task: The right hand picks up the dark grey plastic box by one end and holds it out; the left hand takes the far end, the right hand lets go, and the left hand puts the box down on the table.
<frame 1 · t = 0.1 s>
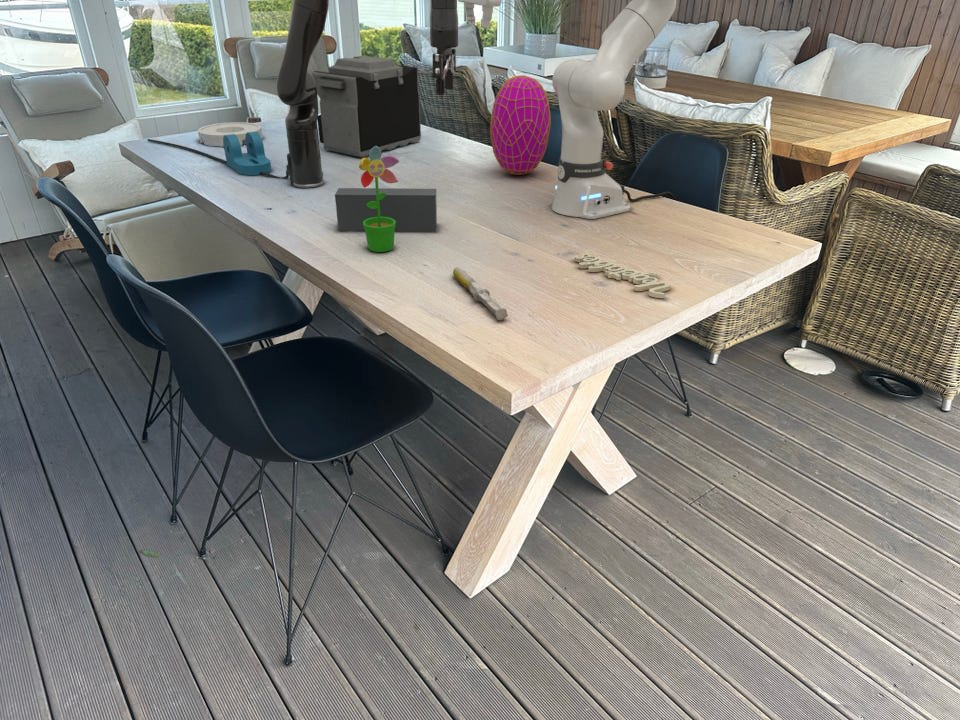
left hand: (444, 91, 191), 30 cm above the table, tool pointing down, fingers open, 8 cm apart
right hand: (477, 26, 162), 48 cm above the table, tool pointing down, fingers open, 8 cm apart
box: (388, 228, 181), on the table
camera mount: (251, 168, 229), on the table
decorative egg: (518, 174, 227), on the table
potted flower: (382, 248, 169), on the table
syringe: (478, 297, 145), on the table
cooler: (371, 146, 258), on the table
decorative sign: (623, 275, 156), on the table
ashtray: (231, 139, 265), on the table
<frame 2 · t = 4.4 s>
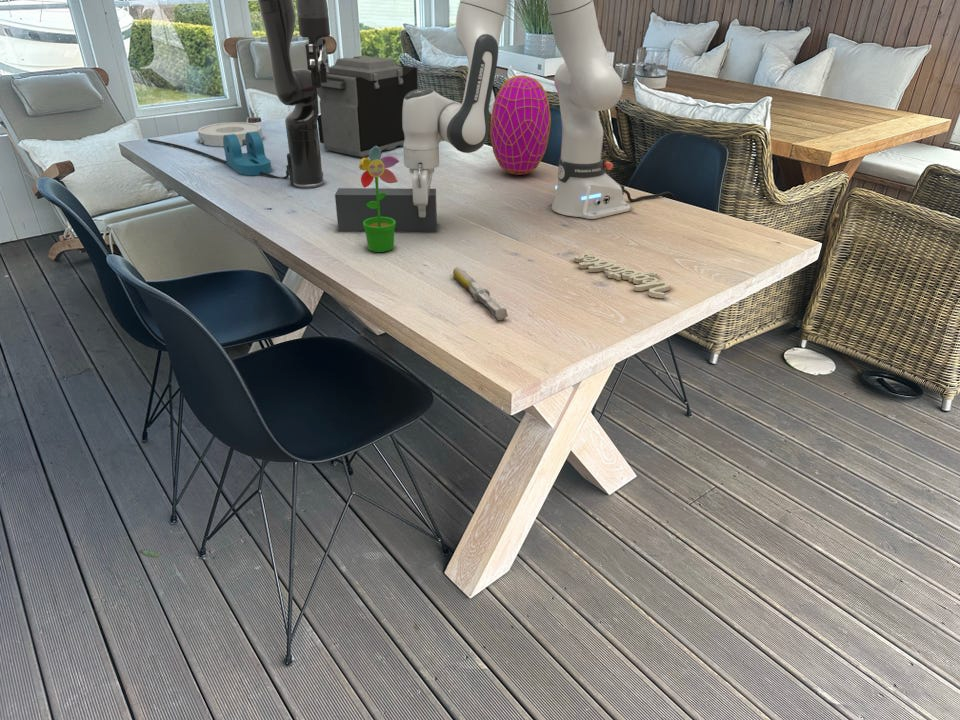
left hand: (320, 85, 178), 33 cm above the table, tool pointing down, fingers open, 8 cm apart
right hand: (423, 211, 179), 4 cm above the table, tool pointing down, fingers closed on box, 6 cm apart
box: (388, 228, 181), on the table, touching right hand
everything else where it was.
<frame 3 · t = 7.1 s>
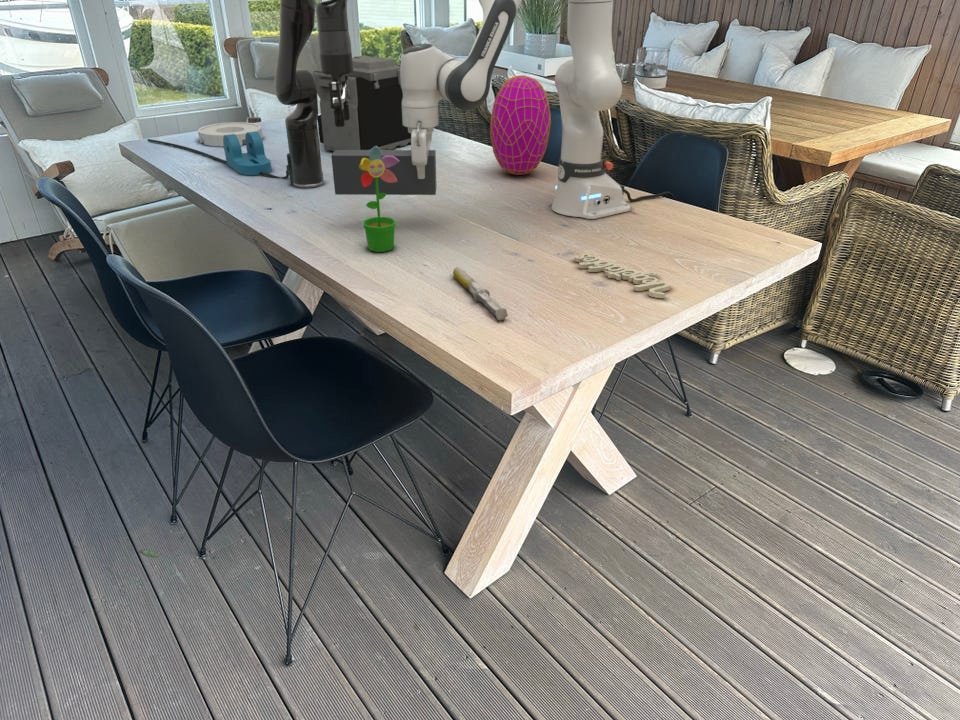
left hand: (342, 123, 170), 26 cm above the table, tool pointing down, fingers open, 8 cm apart
right hand: (422, 174, 174), 14 cm above the table, tool pointing down, fingers closed on box, 6 cm apart
box: (386, 191, 176), point 10 cm above the table, touching right hand
everything else where it was.
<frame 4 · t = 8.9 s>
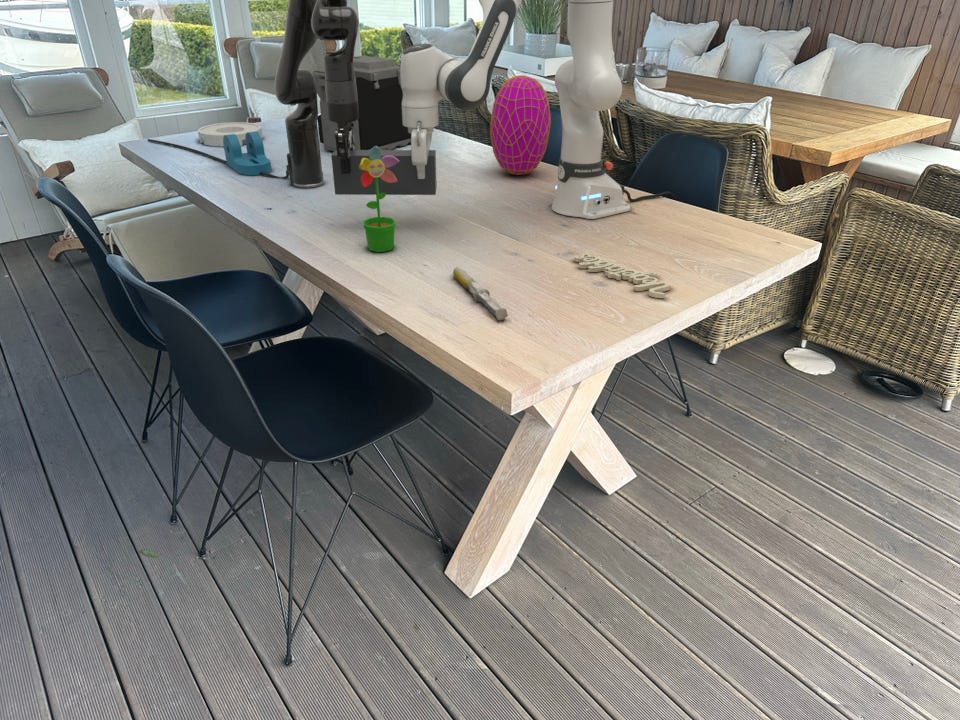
left hand: (348, 169, 173), 15 cm above the table, tool pointing down, fingers closed on box, 5 cm apart
right hand: (422, 174, 174), 14 cm above the table, tool pointing down, fingers closed on box, 6 cm apart
box: (386, 191, 176), point 10 cm above the table, touching left hand, right hand
everything else where it was.
when the right hand's fingers open (14 cm above the table, at t = 10.2 s): box stays where it is, held by the left hand.
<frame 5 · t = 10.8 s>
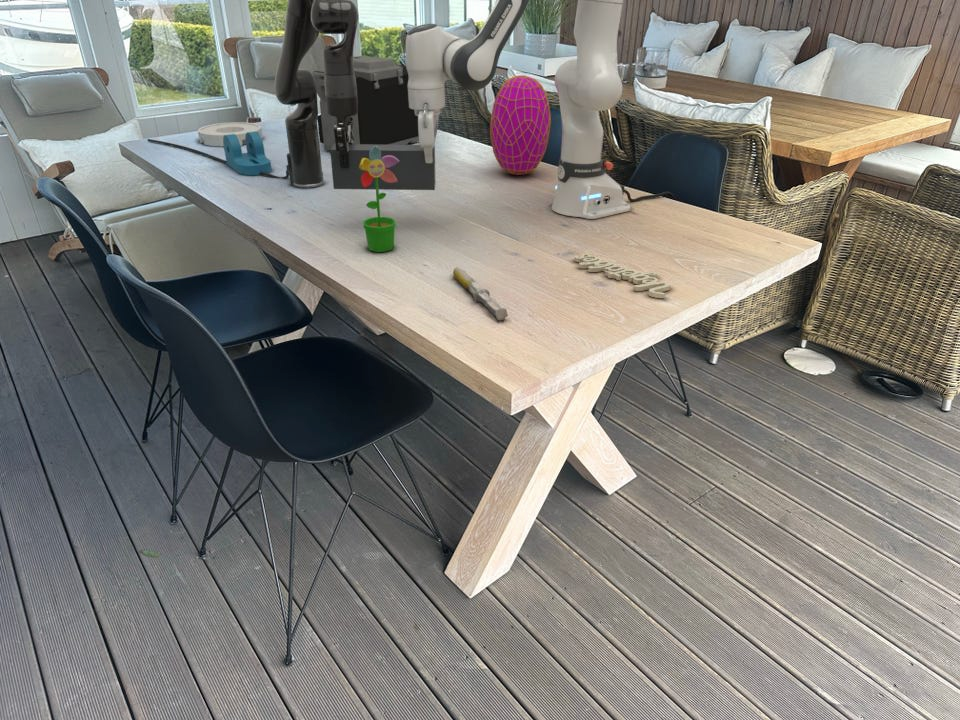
left hand: (346, 164, 172), 17 cm above the table, tool pointing down, fingers closed on box, 5 cm apart
right hand: (430, 157, 172), 18 cm above the table, tool pointing down, fingers open, 8 cm apart
box: (385, 186, 175), point 11 cm above the table, touching left hand
everything else where it was.
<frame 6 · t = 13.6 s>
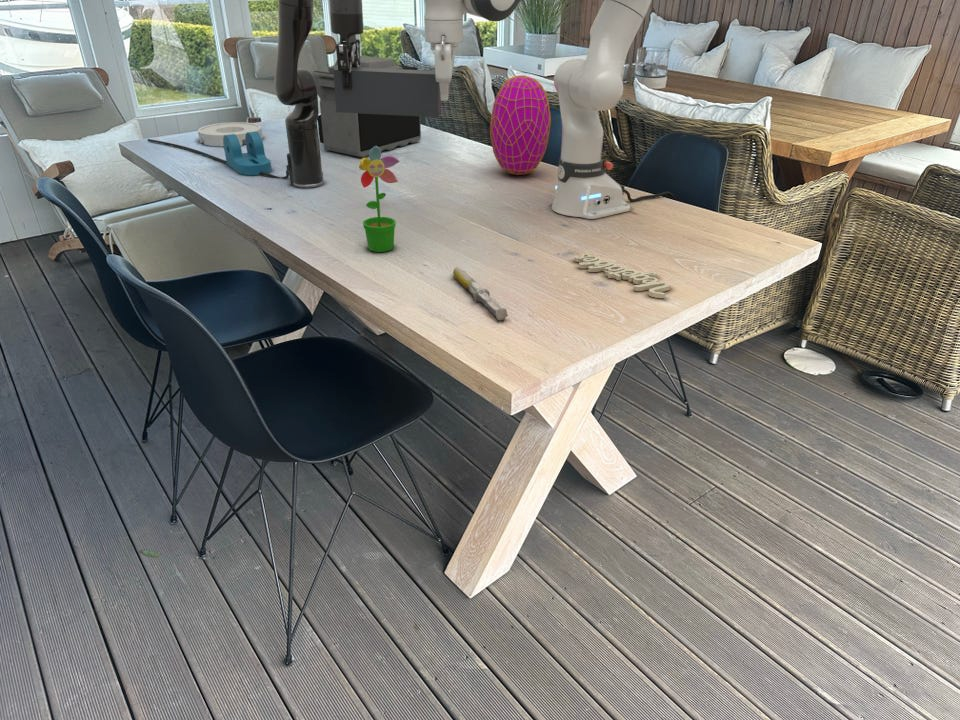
left hand: (350, 87, 169), 34 cm above the table, tool pointing down, fingers closed on box, 5 cm apart
right hand: (445, 96, 165), 33 cm above the table, tool pointing down, fingers open, 8 cm apart
box: (389, 112, 171), point 28 cm above the table, touching left hand, right hand
everything else where it was.
when the left hand's fingers open (7 cm above the table, at t = 22.7 s): box drops 1 cm, on the table.
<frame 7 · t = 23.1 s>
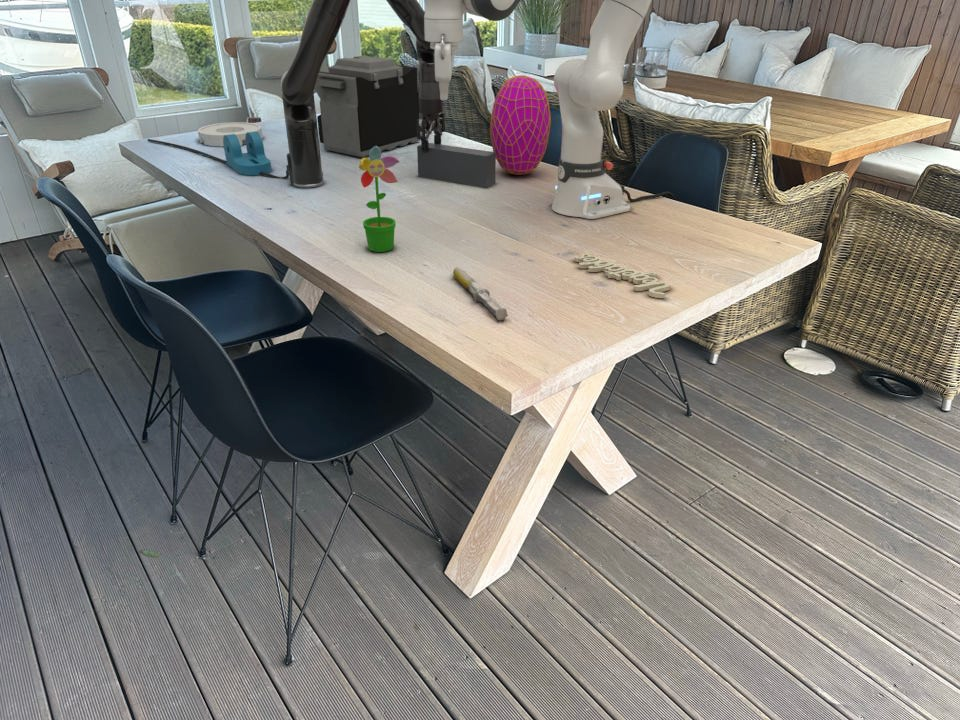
left hand: (431, 149, 220), 8 cm above the table, tool pointing down, fingers open, 8 cm apart
right hand: (444, 96, 165), 33 cm above the table, tool pointing down, fingers open, 8 cm apart
box: (456, 180, 220), on the table
everything else where it was.
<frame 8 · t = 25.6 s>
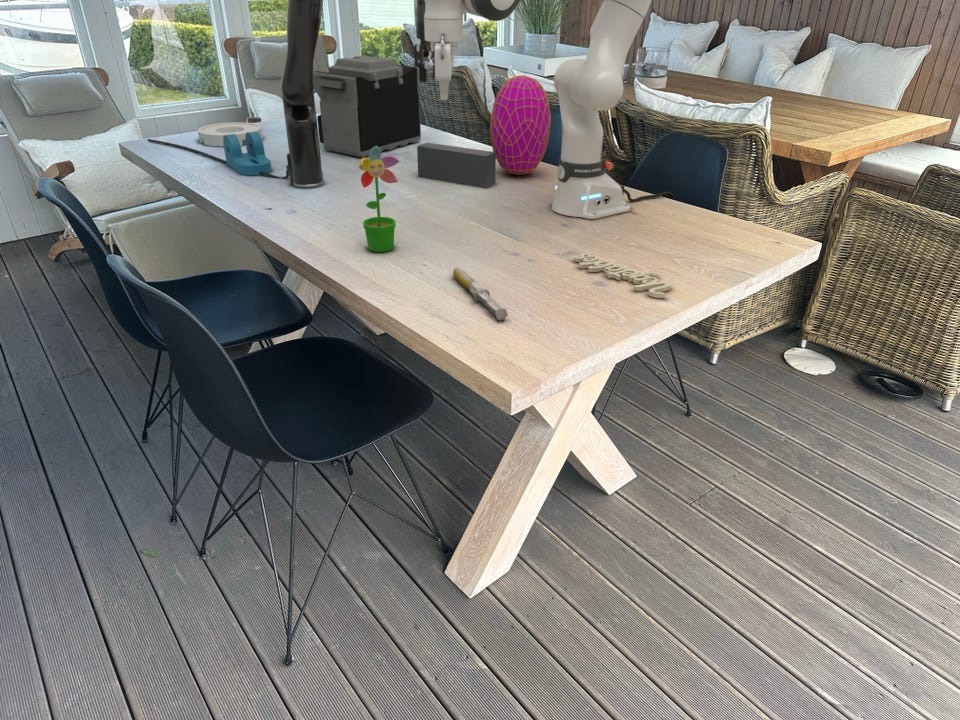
left hand: (430, 79, 209), 29 cm above the table, tool pointing down, fingers open, 8 cm apart
right hand: (444, 96, 165), 33 cm above the table, tool pointing down, fingers open, 8 cm apart
nothing on the table moved.
at the end: box inside the target area (9.1 cm from its centre), on the table; the left hand is holding nothing; the right hand is holding nothing; box at rest at the end (0.0 cm/s) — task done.
